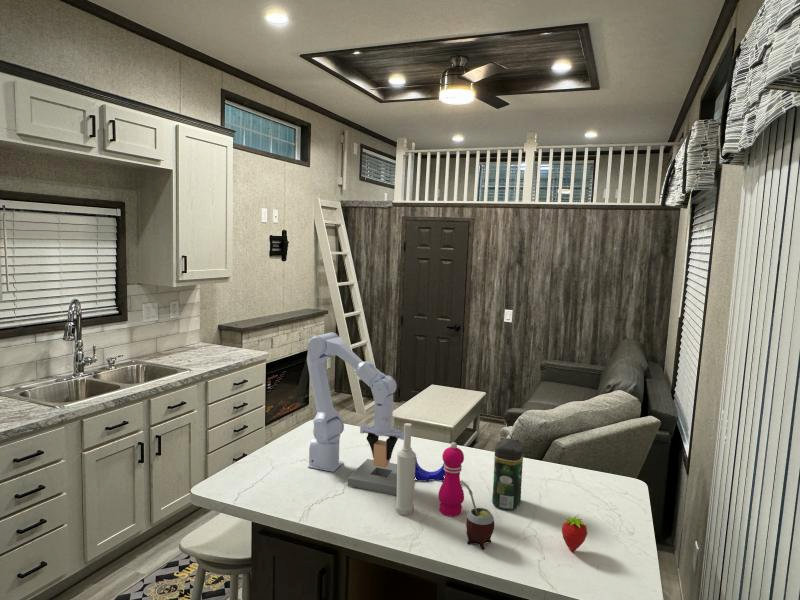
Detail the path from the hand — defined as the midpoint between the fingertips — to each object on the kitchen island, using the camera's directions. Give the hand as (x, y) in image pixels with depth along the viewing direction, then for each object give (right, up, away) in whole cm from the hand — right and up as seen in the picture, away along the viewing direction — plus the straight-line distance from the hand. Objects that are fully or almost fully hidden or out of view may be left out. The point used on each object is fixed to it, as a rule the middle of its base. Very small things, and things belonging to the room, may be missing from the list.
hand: (381, 458), depth 169 cm
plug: (0, -2, 0) cm, 2 cm away
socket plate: (0, -7, +1) cm, 7 cm away
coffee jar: (+37, -10, -11) cm, 40 cm away
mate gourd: (+25, -12, -33) cm, 43 cm away
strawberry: (+49, -13, -35) cm, 61 cm away
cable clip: (+15, -8, +3) cm, 17 cm away
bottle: (+7, -10, -18) cm, 22 cm away
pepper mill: (+20, -10, -17) cm, 28 cm away
